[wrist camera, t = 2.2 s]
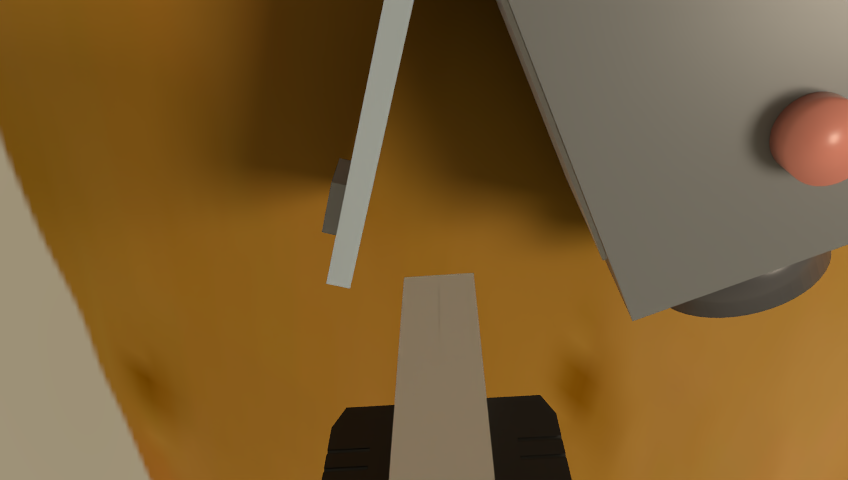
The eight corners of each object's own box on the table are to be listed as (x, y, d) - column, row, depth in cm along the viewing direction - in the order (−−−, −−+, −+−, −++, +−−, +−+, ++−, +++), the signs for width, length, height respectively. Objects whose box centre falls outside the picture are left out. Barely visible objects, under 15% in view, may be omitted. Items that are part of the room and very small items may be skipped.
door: (404, -156, 25) (393, -169, 18) (446, -145, 25) (452, -154, 18) (336, 190, 30) (308, 280, 24) (370, 198, 31) (353, 289, 24)
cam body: (425, -175, 25) (421, -209, 16) (676, -308, 24) (848, -440, 14) (595, 252, 33) (663, 409, 23) (793, 177, 31) (957, 312, 22)
